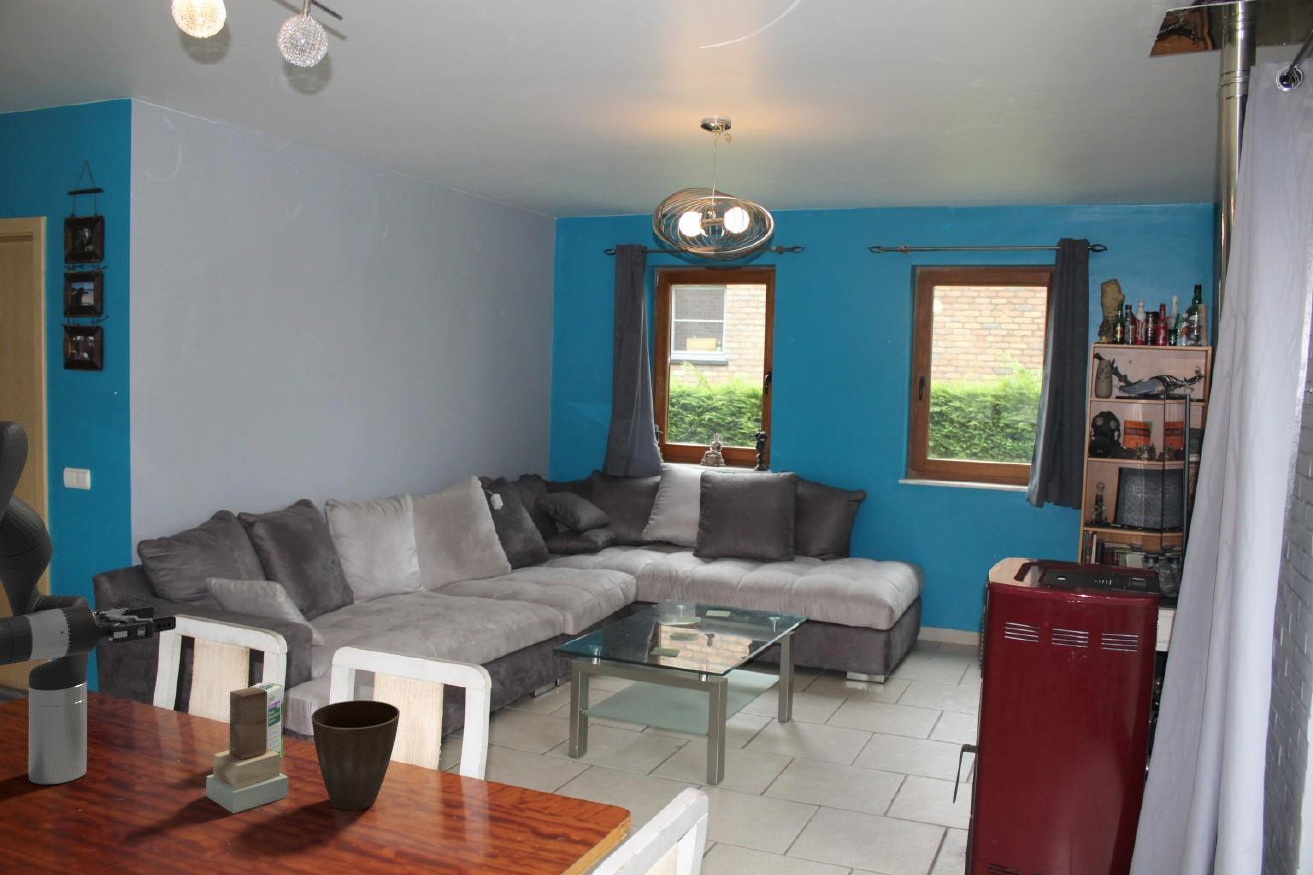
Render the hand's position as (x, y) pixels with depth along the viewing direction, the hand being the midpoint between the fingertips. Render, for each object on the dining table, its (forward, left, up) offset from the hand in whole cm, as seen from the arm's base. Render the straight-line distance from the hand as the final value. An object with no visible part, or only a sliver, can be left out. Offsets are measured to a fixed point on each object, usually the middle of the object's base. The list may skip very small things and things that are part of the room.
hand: (163, 617), depth 172 cm
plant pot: (+17, +26, -34) cm, 46 cm away
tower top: (+2, +14, -30) cm, 33 cm away
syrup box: (-12, +24, -34) cm, 44 cm away
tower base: (+2, +14, -34) cm, 37 cm away
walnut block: (+2, +14, -26) cm, 30 cm away
